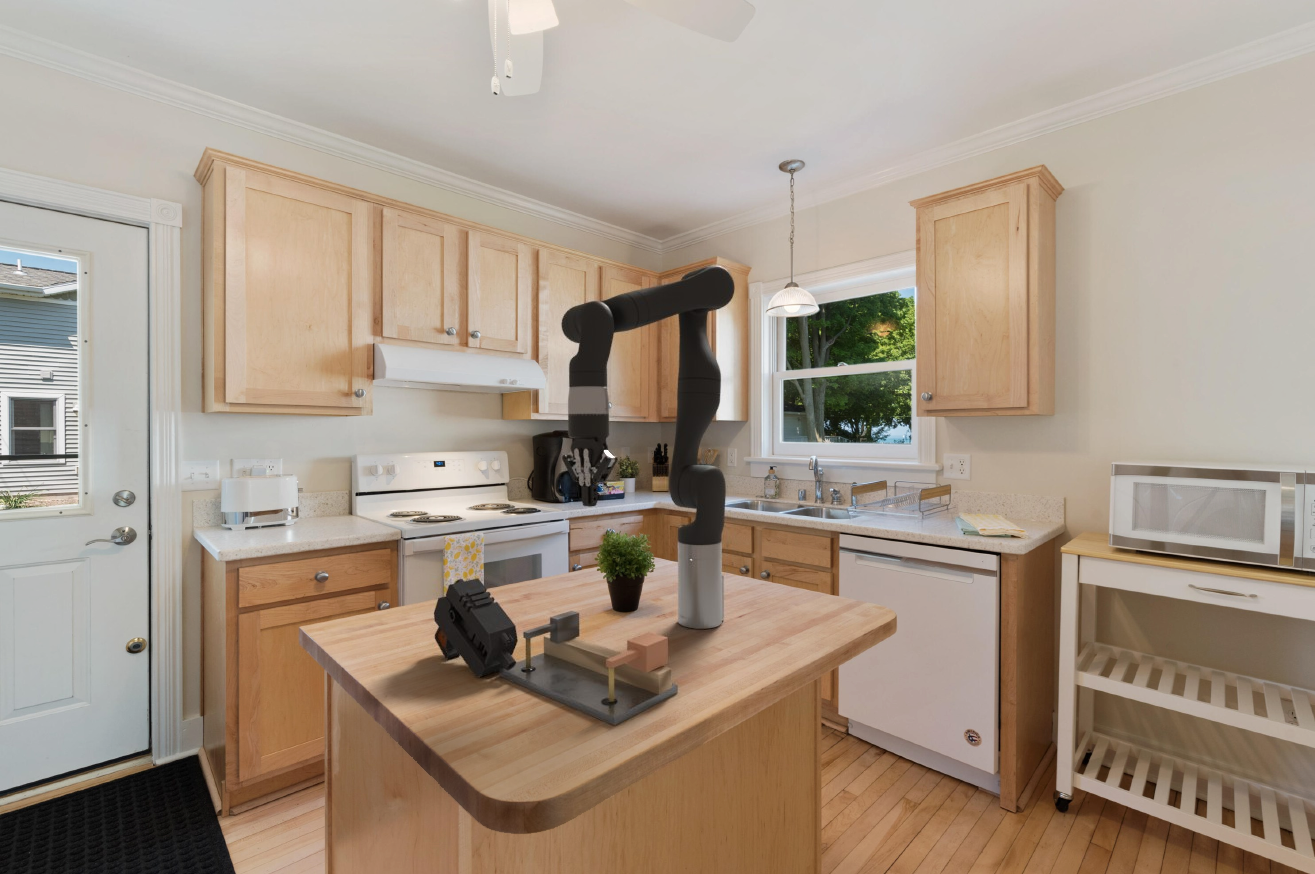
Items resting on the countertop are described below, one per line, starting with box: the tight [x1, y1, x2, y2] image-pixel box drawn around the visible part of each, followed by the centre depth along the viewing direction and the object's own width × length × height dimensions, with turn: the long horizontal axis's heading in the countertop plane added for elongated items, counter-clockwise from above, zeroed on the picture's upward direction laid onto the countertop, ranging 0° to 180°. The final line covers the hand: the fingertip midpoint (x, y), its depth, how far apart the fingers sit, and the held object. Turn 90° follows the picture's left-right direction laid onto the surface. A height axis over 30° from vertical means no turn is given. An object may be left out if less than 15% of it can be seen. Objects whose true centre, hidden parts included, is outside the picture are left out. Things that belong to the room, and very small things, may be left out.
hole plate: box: [498, 652, 679, 727], centre depth 100 cm, size 14×27×1 cm, turn 49°
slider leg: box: [606, 631, 669, 702], centre depth 94 cm, size 11×4×7 cm, turn 139°
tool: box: [433, 578, 519, 678], centre depth 108 cm, size 6×19×15 cm, turn 51°
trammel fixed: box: [522, 610, 673, 694], centre depth 101 cm, size 11×27×7 cm, turn 49°
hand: (589, 505), depth 115 cm, fingers closed
